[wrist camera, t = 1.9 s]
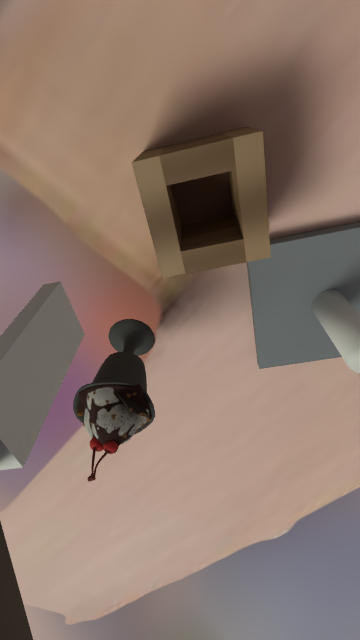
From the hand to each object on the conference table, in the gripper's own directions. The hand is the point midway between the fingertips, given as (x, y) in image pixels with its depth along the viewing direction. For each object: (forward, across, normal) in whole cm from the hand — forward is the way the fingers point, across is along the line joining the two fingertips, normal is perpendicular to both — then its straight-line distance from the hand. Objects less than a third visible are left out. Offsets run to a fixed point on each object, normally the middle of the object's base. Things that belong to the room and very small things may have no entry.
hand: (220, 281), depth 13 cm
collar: (+16, 0, 0) cm, 16 cm away
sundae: (+16, -10, -13) cm, 23 cm away
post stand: (+16, +10, -12) cm, 22 cm away
